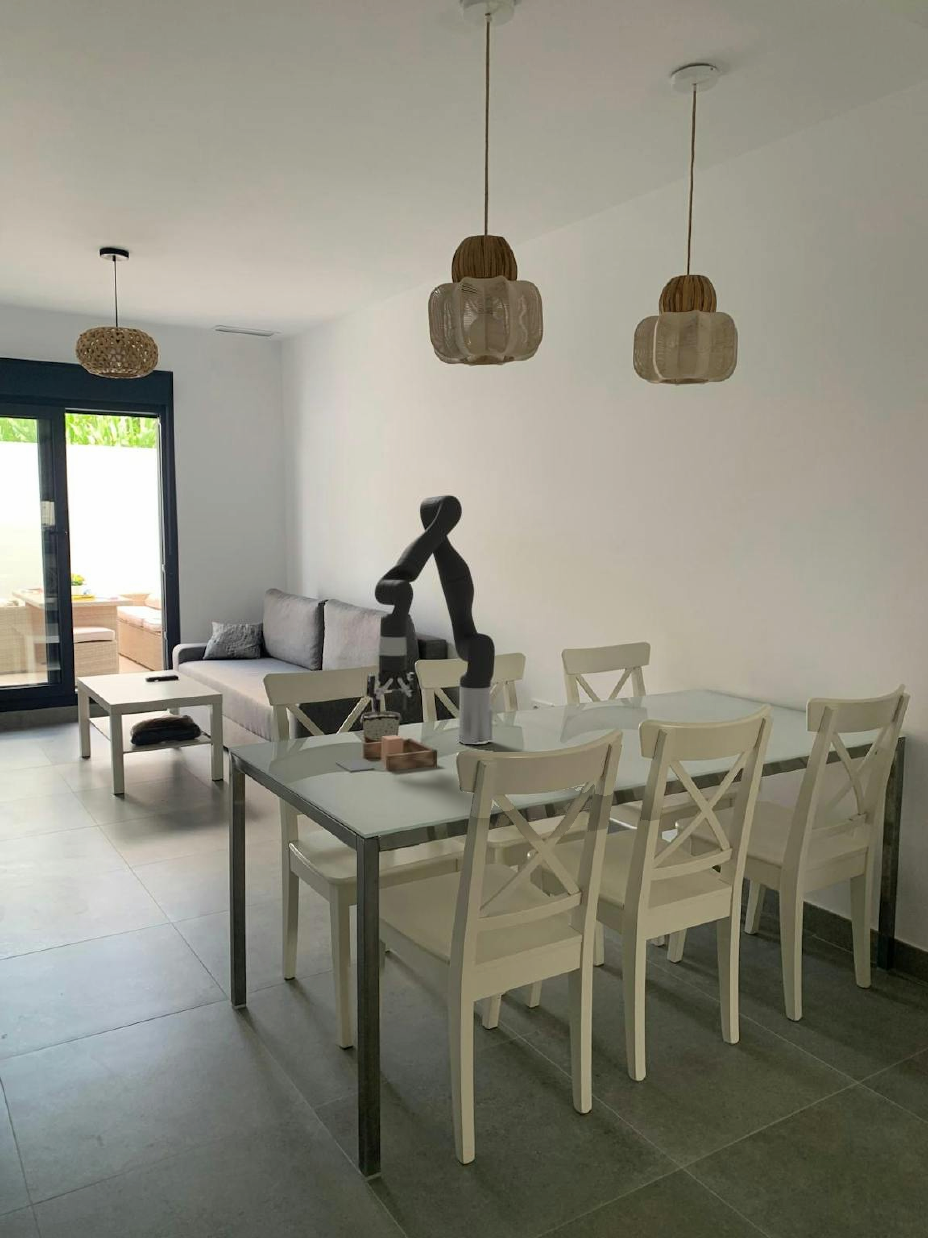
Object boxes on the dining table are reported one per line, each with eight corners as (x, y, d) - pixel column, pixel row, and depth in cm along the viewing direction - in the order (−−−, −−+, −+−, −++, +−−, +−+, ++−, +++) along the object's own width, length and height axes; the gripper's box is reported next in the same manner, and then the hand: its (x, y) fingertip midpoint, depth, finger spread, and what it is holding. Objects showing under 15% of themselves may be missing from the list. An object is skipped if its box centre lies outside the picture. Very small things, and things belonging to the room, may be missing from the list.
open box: (410, 752, 277) (410, 738, 277) (437, 765, 263) (437, 750, 263) (363, 757, 270) (363, 743, 270) (388, 771, 256) (388, 756, 255)
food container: (395, 742, 289) (395, 709, 288) (401, 747, 283) (401, 713, 282) (355, 745, 285) (355, 712, 284) (360, 750, 279) (360, 716, 278)
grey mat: (359, 761, 266) (359, 759, 266) (374, 769, 257) (374, 767, 257) (335, 763, 263) (335, 762, 263) (350, 772, 254) (350, 770, 254)
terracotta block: (395, 759, 268) (396, 735, 268) (402, 763, 265) (403, 738, 264) (381, 761, 266) (381, 736, 266) (387, 765, 262) (388, 739, 262)
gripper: (410, 650, 269) (409, 707, 271) (363, 652, 262) (362, 710, 264) (422, 653, 263) (421, 712, 264) (374, 655, 256) (373, 715, 257)
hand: (391, 711), depth 264 cm, fingers open, 8 cm apart
